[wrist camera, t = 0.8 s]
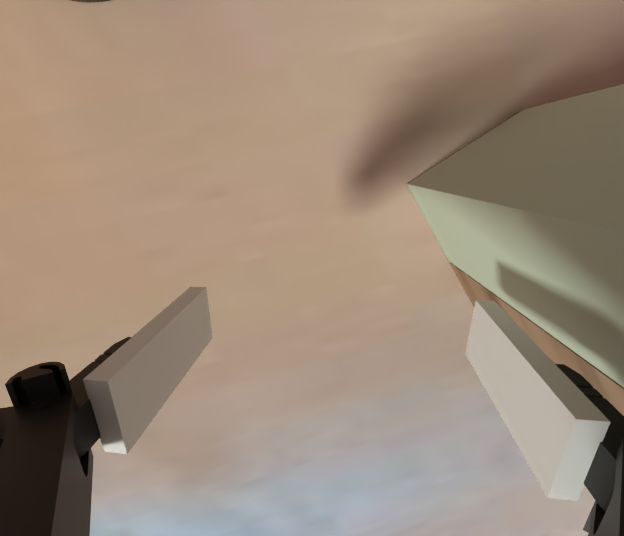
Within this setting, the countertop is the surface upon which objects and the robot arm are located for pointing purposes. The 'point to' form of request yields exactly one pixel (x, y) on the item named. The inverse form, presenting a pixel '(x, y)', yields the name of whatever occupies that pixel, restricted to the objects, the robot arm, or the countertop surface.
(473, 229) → the sage dock
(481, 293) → the block
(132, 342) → the robot arm
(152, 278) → the countertop surface
